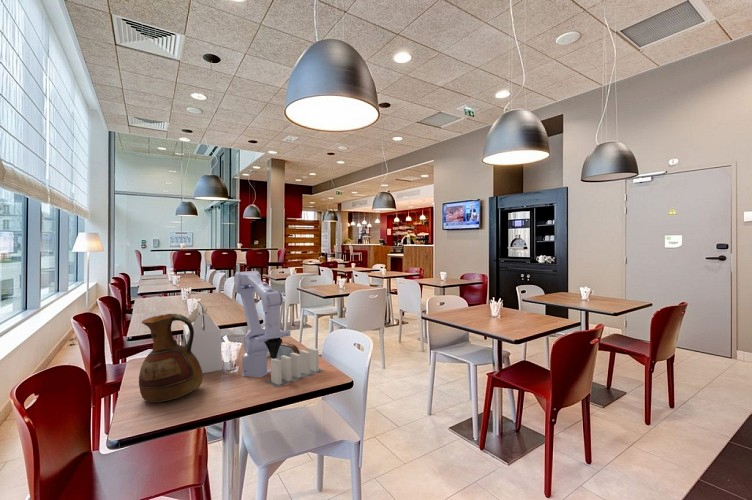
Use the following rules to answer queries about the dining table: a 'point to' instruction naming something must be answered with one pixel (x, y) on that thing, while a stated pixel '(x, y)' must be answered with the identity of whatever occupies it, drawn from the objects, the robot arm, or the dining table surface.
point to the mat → (294, 378)
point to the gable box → (204, 340)
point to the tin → (286, 350)
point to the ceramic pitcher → (168, 362)
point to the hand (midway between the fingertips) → (273, 358)
